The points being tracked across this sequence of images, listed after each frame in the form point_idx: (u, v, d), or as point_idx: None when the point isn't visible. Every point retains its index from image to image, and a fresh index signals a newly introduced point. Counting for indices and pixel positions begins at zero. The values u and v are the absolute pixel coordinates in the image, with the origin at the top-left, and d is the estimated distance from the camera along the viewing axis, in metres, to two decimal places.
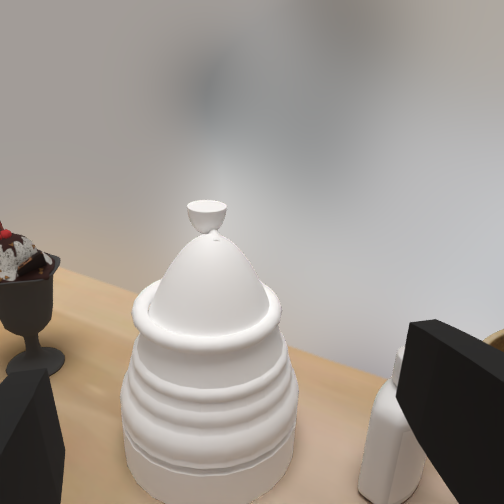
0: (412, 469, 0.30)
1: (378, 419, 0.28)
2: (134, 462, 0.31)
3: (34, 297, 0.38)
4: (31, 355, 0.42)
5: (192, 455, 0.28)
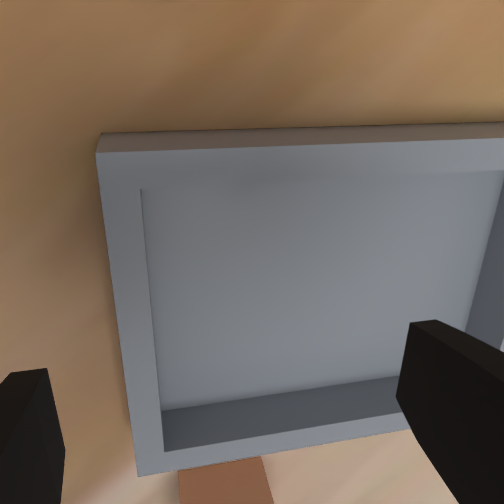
0: None
1: None
2: None
3: None
4: None
5: None
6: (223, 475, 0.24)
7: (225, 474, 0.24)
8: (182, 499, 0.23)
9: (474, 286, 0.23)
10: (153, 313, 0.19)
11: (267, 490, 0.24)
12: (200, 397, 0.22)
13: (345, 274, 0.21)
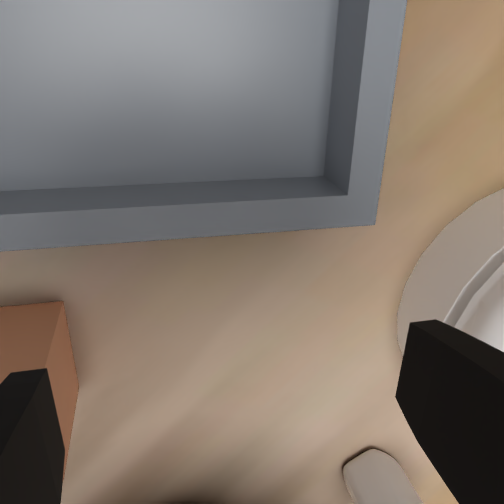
0: None
1: None
2: None
3: None
4: None
5: (473, 335, 0.18)
6: None
7: (3, 316, 0.18)
8: None
9: (332, 36, 0.16)
10: None
11: (50, 330, 0.17)
12: None
13: None
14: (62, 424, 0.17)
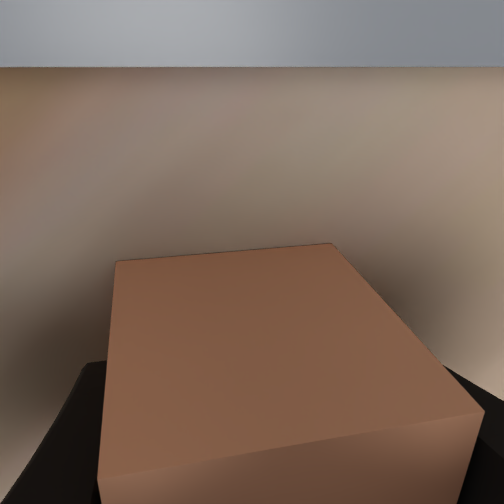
0: None
1: None
2: None
3: None
4: None
5: None
6: (239, 269, 0.09)
7: (245, 268, 0.09)
8: (117, 308, 0.08)
9: None
10: None
11: (370, 294, 0.08)
12: None
13: None
14: None
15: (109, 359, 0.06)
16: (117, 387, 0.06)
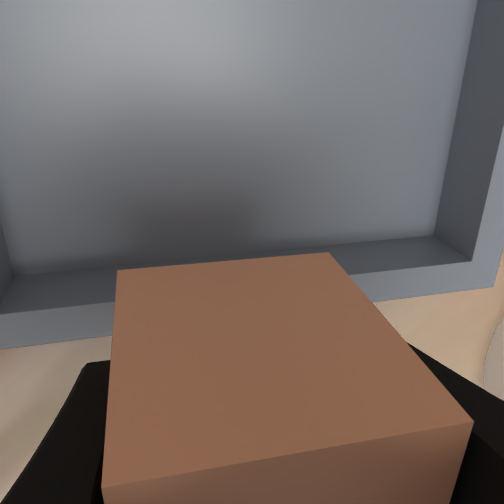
0: None
1: None
2: None
3: None
4: None
5: None
6: (238, 279, 0.09)
7: (243, 277, 0.09)
8: (119, 318, 0.08)
9: (454, 106, 0.16)
10: None
11: (365, 303, 0.08)
12: (70, 257, 0.16)
13: (265, 65, 0.14)
14: None
15: (112, 369, 0.07)
16: (120, 397, 0.06)
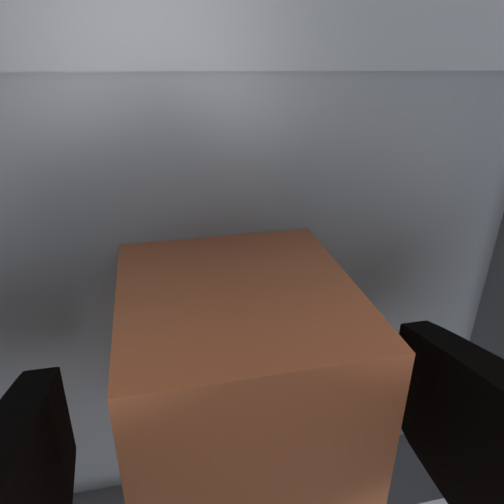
0: None
1: None
2: None
3: None
4: None
5: None
6: (225, 250, 0.10)
7: (230, 249, 0.10)
8: (120, 281, 0.09)
9: (476, 302, 0.14)
10: None
11: (335, 268, 0.09)
12: None
13: None
14: None
15: (115, 319, 0.08)
16: (121, 339, 0.07)
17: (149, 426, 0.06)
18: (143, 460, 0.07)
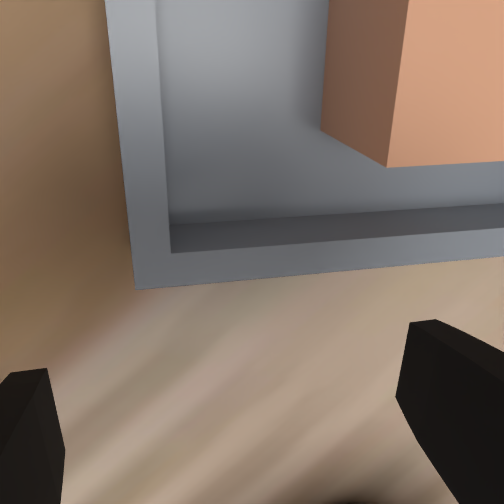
0: None
1: None
2: None
3: None
4: None
5: None
6: None
7: None
8: None
9: None
10: None
11: None
12: (217, 209, 0.17)
13: None
14: None
15: None
16: None
17: None
18: (419, 28, 0.11)
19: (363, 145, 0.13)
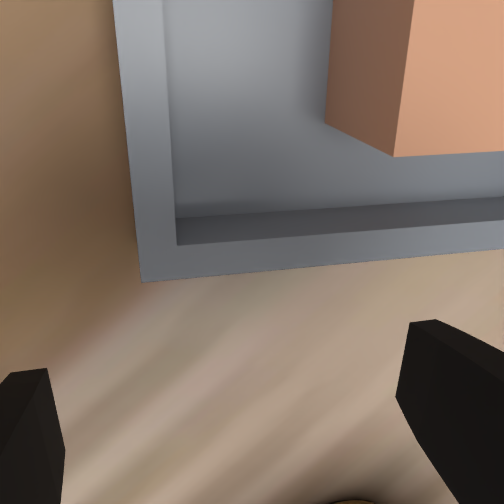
0: None
1: None
2: None
3: None
4: None
5: None
6: None
7: None
8: None
9: None
10: None
11: None
12: (222, 202, 0.17)
13: None
14: None
15: None
16: None
17: None
18: (426, 16, 0.11)
19: (369, 136, 0.13)
